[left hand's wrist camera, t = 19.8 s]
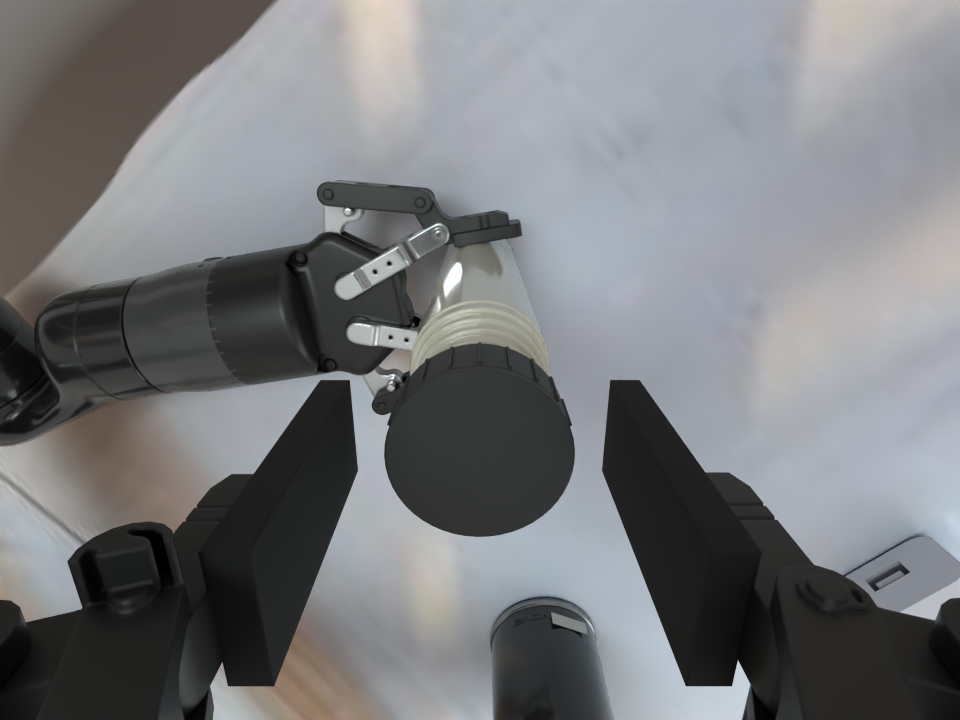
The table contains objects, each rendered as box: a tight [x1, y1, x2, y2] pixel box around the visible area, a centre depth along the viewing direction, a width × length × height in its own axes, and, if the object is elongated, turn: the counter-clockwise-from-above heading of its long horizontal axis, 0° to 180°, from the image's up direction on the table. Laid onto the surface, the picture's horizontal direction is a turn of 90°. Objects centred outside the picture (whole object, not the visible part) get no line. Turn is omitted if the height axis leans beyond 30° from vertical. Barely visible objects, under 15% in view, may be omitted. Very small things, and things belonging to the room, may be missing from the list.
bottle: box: [410, 239, 549, 376], centre depth 25 cm, size 5×5×25 cm
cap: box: [384, 342, 575, 537], centre depth 14 cm, size 5×5×2 cm
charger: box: [845, 536, 960, 620], centre depth 46 cm, size 5×9×15 cm
